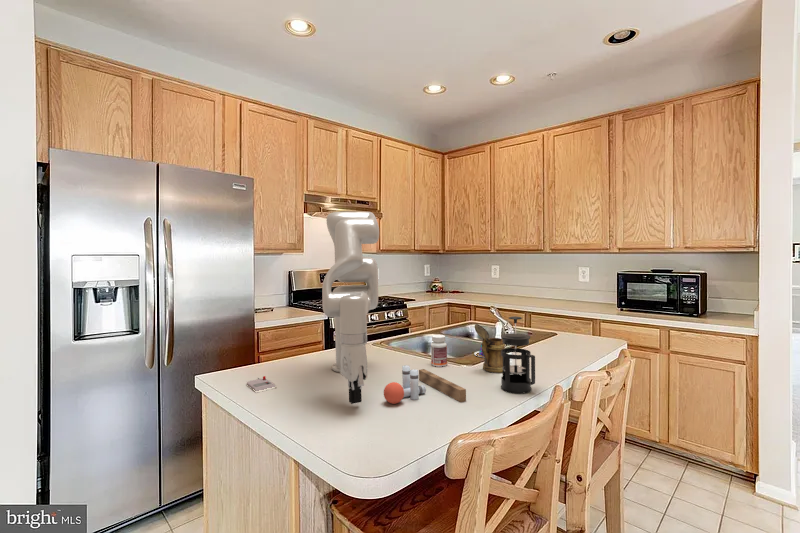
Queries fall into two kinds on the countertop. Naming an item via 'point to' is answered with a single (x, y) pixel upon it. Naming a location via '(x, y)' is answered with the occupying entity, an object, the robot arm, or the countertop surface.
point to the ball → (393, 392)
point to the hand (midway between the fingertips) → (355, 402)
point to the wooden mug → (491, 351)
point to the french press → (513, 375)
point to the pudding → (479, 351)
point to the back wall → (443, 385)
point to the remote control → (260, 384)
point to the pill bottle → (438, 351)
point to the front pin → (421, 389)
